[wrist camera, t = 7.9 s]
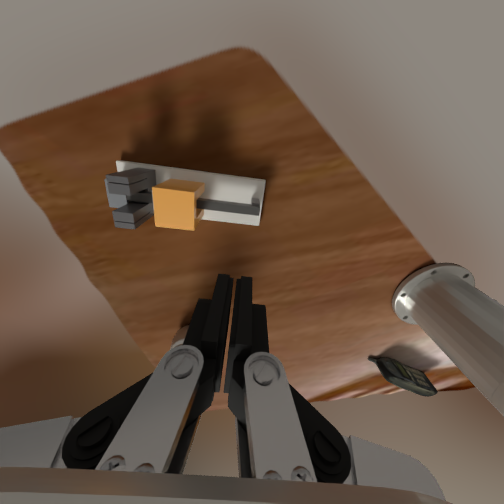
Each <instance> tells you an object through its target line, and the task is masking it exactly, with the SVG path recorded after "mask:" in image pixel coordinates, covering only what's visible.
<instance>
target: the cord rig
mask: <svg viewBox="0 0 504 504" xmlns="http://www.w3.org/2000/svg"><path fill="white" fill-rule="evenodd" d="M116 164H117V170H118V172H116V173H112V174H107V175H106V179H104V180H105V185H106V190H107V196H108V201H109V206H110V207H115V208H118V209H116V210H114V211H112V212H113V218H114V221H115V222H114V223H115V227H119V228H128V229H136V228H137V227H139V226H140V225H141V224H143V223H144V222H145V221H146V220H148V219H149V218H150V217H152V216H153V215H154V204H153V193H152V187H154V186H156V185H158V184H160V183H162V182H164V181H166V180H168V179H179V180H187V181H195V182H202V183H205V190H204V192H203V193H202V195H201V196H200V197H199V198H198V199H197V200H196V208H197V209H204V215H203V217H202V219H205V220H213V221H222V222H230V223H239V224H247V225H256V226H259V222H260V215H261V209H262V202H263V196H264V189H265V182H266V180H265V179H257V178H250V177H242V176H235V175H227V174H220V173H212V172H205V171H197V170H190V169H182V168H175V167H167V166H160V165H152V164H145V163H137V162H130V161H122V160H119V161H116Z"/></svg>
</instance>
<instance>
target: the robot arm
mask: <svg viewBox="0 0 504 504" xmlns="http://www.w3.org/2000/svg"><path fill="white" fill-rule="evenodd" d="M229 277H230V275H226V274H218V278H217V282H216V286H215V289H214V293H213V297H212V300H210V299H200V298H199V300H198V302H197V305H196V308H195V310H194V313H193V316H192V319H191V322H190V325H189V328H188V330H187V333H186V336H185V339H184V342H183V345H181V346H177V347H175V348H172V349H171V350H170V351H168V352H167V353H166V354H165V355H164V356H163V358H162V359H161V361H160V362H159V364H158V366H157V367H156V369H155V371H154V372H153V373H152V374H150V375H149V376H147V377H145V378H144V379H142V380H140V381H139V382H137V383H135V384H134V385H132V386H130V387H129V388H127V389H126V390H124V391H122V392H121V393H119V394H117V395H116V396H114V397H113V398H111V399H109V400H108V401H106V402H105V403H103V404H101V405H100V406H98V407H96V408H95V409H93V410H91V411H90V412H88V413H87V414H86V415H84V416H83V417H80V418H75V419H74V418H73V416H68V417H62V418H56V419H51V420H45V421H39V422H33V423H28V424H22V425H16V426H11V427H5V428H0V504H452V503H449V502H447V501H446V500H445V497H444V495H443V492H442V490H441V488H440V486H439V484H438V483H437V480H436V479H435V477H434V476H433V475H432V474H431V473H430V471H429V470H428V469H427V468H426V467H425V466H424V465H423V464H422V463H421V462H420V461H419V460H417V459H415V458H413V457H411V456H409V455H406V454H403V453H400V452H397V451H395V450H392V449H389V448H386V447H383V446H380V445H378V444H375V443H372V442H369V441H366V440H363V439H360V438H358V437H355V436H351V435H350V436H349V438H348V437H346V436H342V435H341V434H340V433H339V432H338V430H337V429H336V428H335V427H334V426H333V425H332V424H331V423H330V422H329V421H327V420H326V419H325V418H324V417H323V416H322V415H321V414H320V413H319V412H318V411H317V410H316V409H315V408H314V407H313V406H312V405H311V404H310V403H309V402H308V401H307V400H306V399H305V398H304V397H303V396H302V395H301V394H299V393H298V392H297V391H296V390H295V389H294V388H293V387H292V386H291V385H290V384H289V383H288V380H287V377H286V373H285V370H284V367H283V365H282V363H281V362H280V360H279V359H278V358H277V357H275V356H274V355H272V354H270V353H269V344H268V332H267V319H266V307H265V305H259V304H252V277H245V276H241V279H237V282H236V291H235V299H234V308H233V316H232V325H231V333H230V342H229V350H228V359H227V368H226V376H225V385H224V393H229V396H228V407H229V409H230V410H231V411H232V412H233V414H234V415H235V416H236V418H235V424H236V440H237V454H238V470H239V478H237V477H219V476H202V475H183V471H184V468H185V465H186V462H187V459H188V456H189V453H190V450H191V447H192V443H193V440H194V437H195V434H196V431H197V428H198V425H199V422H200V419H201V414H202V413H203V412H204V411H205V410H206V409H207V408H209V407H210V406H211V403H212V401H213V397H214V392H219V391H220V384H221V376H222V369H223V362H224V354H225V347H226V339H227V332H228V324H229V316H230V307H231V297H232V288H233V278H229ZM392 308H393V310H394V312H395V313H396V315H397V316H398V317H399V318H400V319H401V320H403V321H405V322H407V323H410V324H416V325H419V326H420V327H421V328H422V329H423V330H424V331H425V333H426V334H427V335H428V336H429V337H430V338H431V339H432V340H433V341H434V342H435V343H436V344H437V345H438V347H439V348H440V349H441V350H442V351H443V352H444V353H445V354H446V355H447V356H448V357H449V358H450V359H451V361H452V362H453V363H454V364H455V365H456V366H457V367H458V368H459V369H460V370H461V371H462V372H463V373H464V375H465V376H466V377H467V378H468V379H469V380H470V381H471V382H472V383H473V384H474V385H475V386H476V387H477V388H478V390H479V391H480V392H481V393H482V394H483V395H484V396H485V397H486V398H487V399H488V400H489V401H490V402H491V403H492V405H493V406H494V407H495V408H496V409H497V410H498V411H499V412H500V413H501V414H502V415H503V416H504V306H503V305H501V304H500V303H498V302H497V301H496V300H494V299H492V298H490V297H489V296H487V295H486V294H484V293H483V292H481V291H480V290H478V289H477V288H475V280H474V277H473V275H472V273H471V272H469V271H468V270H467V269H465V268H464V267H462V266H460V265H457V264H454V263H438V264H433V265H430V266H427V267H424V268H422V269H420V270H418V271H416V272H414V273H413V274H411V275H410V276H408V277H407V278H406V279H405V280H404V281H403V282H402V283H401V284H400V285H399V286H398V288H397V290H396V291H395V293H394V296H393V299H392Z"/></svg>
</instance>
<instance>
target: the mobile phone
mask: <svg viewBox="0 0 504 504" xmlns="http://www.w3.org/2000/svg"><path fill="white" fill-rule="evenodd" d="M368 360H369V361H372V362H374V363H375V364H376V365H377V367H378V368H379V370H380V372H381V374H382V375H383V377H384V378H385V379H386V380H387V381H388V382H390V383H392V384H394V385H396V386H397V387H400V388H403V389H406V390H408V391H411V392H413V393H416V394H419V395H422V396H433V395H435V394H436V393H437V390H436V388H435V387H434V386H433V384H432V383H431V382H430V381H429V379H428V378H427V377H426V375H425V374H424V373H423V372H421V371H418V370H416V369H413V368H411V367H408V366H406V365H404V364H401V363H400V362H398V361H396V360H394V359H390V358H380V359H378V360H376V359H373V358H370V357H368Z"/></svg>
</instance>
